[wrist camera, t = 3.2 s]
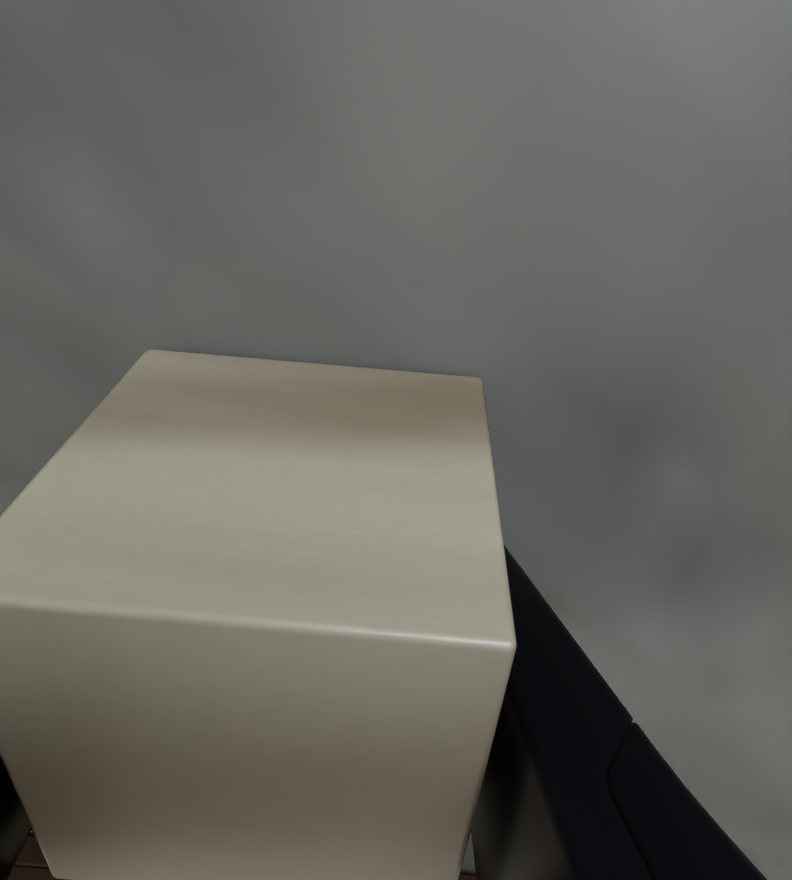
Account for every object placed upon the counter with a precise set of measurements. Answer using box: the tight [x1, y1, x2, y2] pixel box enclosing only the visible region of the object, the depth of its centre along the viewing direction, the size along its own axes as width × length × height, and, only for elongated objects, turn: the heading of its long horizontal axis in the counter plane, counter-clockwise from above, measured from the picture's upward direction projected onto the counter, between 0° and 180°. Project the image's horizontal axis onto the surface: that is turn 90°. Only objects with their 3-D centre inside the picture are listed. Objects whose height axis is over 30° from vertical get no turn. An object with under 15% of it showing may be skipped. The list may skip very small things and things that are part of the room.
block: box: [0, 349, 517, 880], centre depth 8 cm, size 5×5×5 cm
